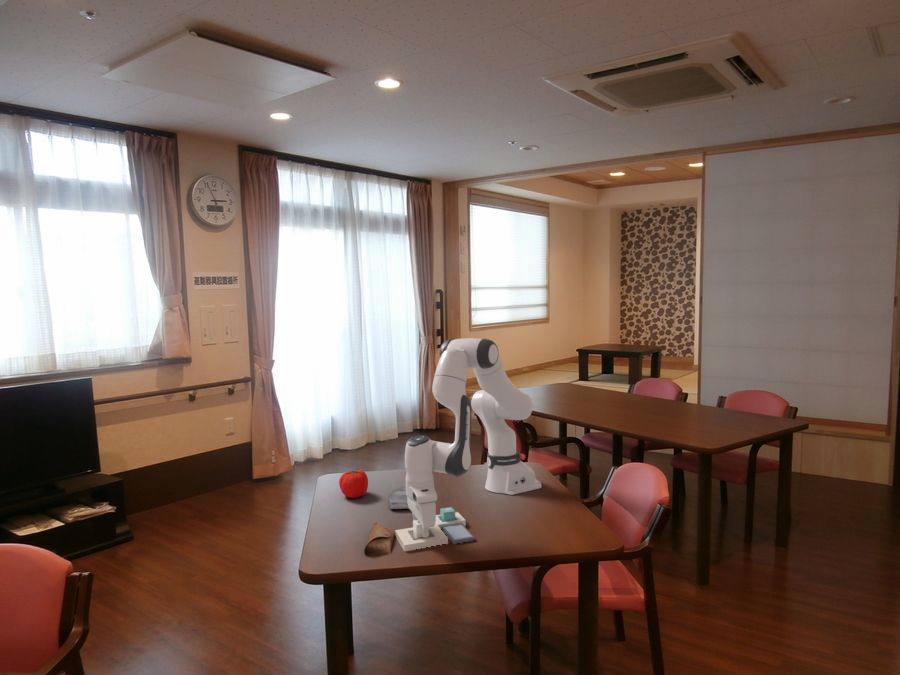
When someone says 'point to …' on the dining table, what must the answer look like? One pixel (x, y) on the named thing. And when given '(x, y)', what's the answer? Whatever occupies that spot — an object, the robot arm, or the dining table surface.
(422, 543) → the outlet plate
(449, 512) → the teal small block
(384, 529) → the sunglasses case
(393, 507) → the handheld device
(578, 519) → the dining table surface
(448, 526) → the phone dock
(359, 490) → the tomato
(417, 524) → the charger
